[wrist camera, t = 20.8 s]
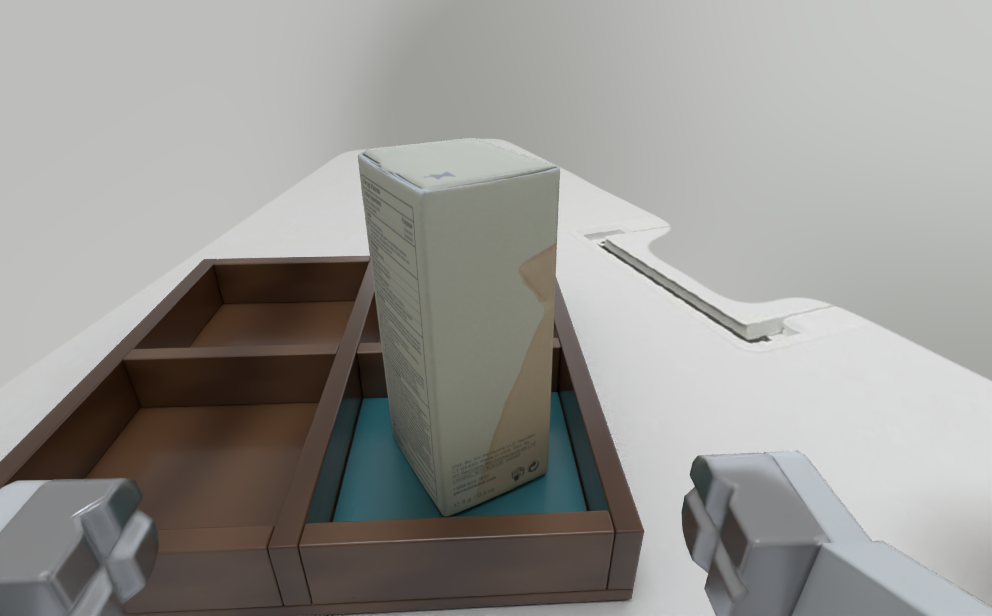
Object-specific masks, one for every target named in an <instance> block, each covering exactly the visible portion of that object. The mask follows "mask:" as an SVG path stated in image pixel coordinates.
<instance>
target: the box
mask: <svg viewBox="0 0 992 616" xmlns="http://www.w3.org/2000/svg"><path fill="white" fill-rule="evenodd" d="M358 162H359V171H360V179H361V188H362V196H363V203H364V211H365V220H366V227H367V235H368V243H369V251H370V258H371V266H372V274H373V282H374V290H375V298H376V306H377V314H378V322H379V330H380V338H381V346H382V354H383V362H384V369H385V377H386V384H387V392H388V400H389V408H390V416H391V424H392V432H393V436H394V438H395V440H396V442H397V443H398V445H399V447H400V449H401V451H402V453H403V454H404V456H405V458H406V459H407V461H408V463H409V464H410V466H411V468H412V469H413V471H414V472H415V474H416V475H417V477H418V479H419V480H420V482H421V483H422V485H423V487H424V488H425V490H426V491H427V493H428V494H429V496H430V497H431V499H432V500H433V502H434V503H435V505H436V506H437V508H438V509H439V511H440V512H441V514H442V515H443V516H445V517H447V516H451V515H453V514H455V513H458V512H461V511H463V510H465V509H468V508H470V507H473V506H475V505H477V504H480V503H482V502H485V501H487V500H489V499H491V498H493V497H496V496H498V495H500V494H503V493H505V492H507V491H509V490H512V489H513V488H515V487H517V486H520V485H522V484H524V483H526V482H528V481H530V480H533V479H535V478H537V477H539V476H541V475H543V474H545V473H546V472H547V471H548V453H549V430H550V404H551V377H552V354H553V330H554V303H555V276H556V249H557V226H558V202H559V180H560V168H559V167H558V166H556V165H554V164H551V163H548V162H545V161H542V160H539V159H536V158H532V157H529V156H526V155H523V154H521V153H518V152H515V151H512V150H509V149H506V148H503V147H500V146H497V145H494V144H492V143H489V142H486V141H484V140H481V139H477V138H475V139H474V138H471V139H470V138H468V139H456V140H446V141H437V142H429V143H420V144H411V145H401V146H391V147H383V148H374V149H368V150H366V151H365V152H362V153H360V154H358Z"/></svg>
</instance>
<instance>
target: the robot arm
mask: <svg viewBox="0 0 992 616" xmlns="http://www.w3.org/2000/svg"><path fill="white" fill-rule="evenodd" d="M690 477H691V479H692V481H693V483H694V485H695V487H694V488H693V489H692V490H691V491H690V492H689V493H688V494H687V495H685V497H684V502H683V508H682V526H683V533H684V537H685V541H686V545H687V548H688V550H689V553H690V555H691V558H692V560H693V561H694V562H695V563H696V564H697V565H699V566H700V567H701V568H702V569H704V570H705V571H706V572H707V573H708V577H707V581H706V584H705V588H704V589H705V591H706V594H707V596H708V598H709V601H710V603H711V605H712V608H713V610H714V612H715V615H716V616H992V607H991V606H989V605H988V604H986V603H984V602H983V601H981V600H979V599H978V598H976V597H974V596H973V595H971V594H970V593H968V592H966V591H965V590H963V589H961V588H960V587H958V586H956V585H955V584H953V583H951V582H950V581H948V580H947V579H945V578H943V577H942V576H940V575H938V574H937V573H935V572H933V571H932V570H930V569H928V568H927V567H925V566H924V565H922V564H920V563H919V562H917V561H915V560H914V559H912V558H910V557H909V556H907V555H905V554H904V553H902V552H901V551H899V550H897V549H896V548H894V547H892V546H891V545H889V544H887V543H886V542H884V541H872V540H871V539H870V538H869V536H868V535H867V534H866V532H865V531H864V530H863V528H862V527H861V526H860V525H859V523H858V522H857V521H856V519H855V518H854V517H853V516H852V514H851V513H850V512H849V510H848V509H847V508H846V507H845V505H844V504H843V503H842V501H841V500H840V499H839V498H838V496H837V495H836V494H835V492H834V491H833V490H832V488H831V487H830V486H829V485H828V483H827V482H826V481H825V479H824V478H823V477H822V476H821V474H820V473H819V472H818V470H817V469H816V468H815V467H814V465H813V464H812V463H811V461H810V460H809V459H808V458H807V456H806V455H804V454H802V453H801V452H799V451H780V452H764V453H741V454H721V455H700V456H697V457H696V459H695V460H694V461H693V463H692V467H691V471H690ZM142 499H143V495H142V493H141V491H140V489H139V487H138V485H137V483H136V481H135V480H131V479H125V478H115V479H54V480H27V481H15V482H13V483H11V484H9V485H6V486H4V487H2V488H1V489H0V616H127V613H126V608H125V604H124V603H125V602H126V601H128V600H129V599H130V598H131V597H133V596H134V595H135V594H136V593H138V592H139V591H140V590H141V589H143V588H144V587H145V585H146V583H147V581H148V579H149V577H150V575H151V573H152V571H153V569H154V566H155V562H156V557H157V553H158V549H159V541H158V531H157V528H156V526H155V523H154V521H153V519H152V518H151V517H149V516H148V515H146V514H145V513H143V512H142V511H140V510H139V509H137V508H138V506H139V504H140V502H141V501H142Z"/></svg>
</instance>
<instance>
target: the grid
mask: <svg viewBox="0 0 992 616" xmlns="http://www.w3.org/2000/svg"><path fill="white" fill-rule="evenodd" d="M115 478H125V479H131V480H135V481H136V483H137V485H138V487H139V489H140V491H141V493H142V495H143V499H142V501H141V502H140V504H139V506H138V508H137V509H139V510H140V511H142V512H143V513H145V514H146V515H148V516H149V517H151V518H152V519H153V521H154V523H155V526H156V528H157V531H158V541H159V549H158V553H157V557H156V562H155V566H154V569H153V571H152V573H151V575H150V577H149V579H148V581H147V583H146V585H145V587H144V588H143V589H141V590H140V591H139V592H138V593H136V594H135V595H134V596H133V597H131V598H130V599H129V600H128V601H126V602H125V603H124V604H125V608H126V613H127V616H313V615H333V614H352V613H372V612H391V611H411V610H430V609H450V608H469V607H488V606H508V605H527V604H547V603H566V602H586V601H605V600H625V599H631V598H632V592H633V587H634V582H635V576H636V571H637V566H638V561H639V555H640V550H641V545H642V540H643V534H644V529H643V526H642V523H641V520H640V518H639V515H638V512H637V509H636V506H635V503H634V500H633V497H632V494H631V492H630V489H629V486H628V483H627V480H626V477H625V474H624V471H623V469H622V466H621V463H620V460H619V457H618V454H617V451H616V448H615V446H614V443H613V440H612V437H611V434H610V431H609V428H608V425H607V422H606V420H605V417H604V414H603V411H602V408H601V405H600V402H599V399H598V397H597V394H596V391H595V388H594V385H593V382H592V379H591V376H590V374H589V371H588V368H587V365H586V362H585V359H584V356H583V353H582V350H581V348H580V345H579V342H578V339H577V336H576V333H575V330H574V327H573V325H572V322H571V319H570V316H569V313H568V310H567V307H566V304H565V302H564V299H563V296H562V293H561V290H560V287H559V284H558V281H557V278H556V276H555V303H554V330H553V354H552V377H551V404H550V430H549V453H548V471H547V472H546V473H545V474H543V475H541V476H539V477H537V478H535V479H533V480H530V481H528V482H526V483H524V484H522V485H520V486H517V487H515V488H513V489H512V490H509V491H507V492H505V493H503V494H500V495H498V496H496V497H493V498H491V499H489V500H487V501H485V502H482V503H480V504H477V505H475V506H473V507H470V508H468V509H465V510H463V511H461V512H458V513H455V514H453V515H451V516H447V517H445V516H443V515H442V514H441V512H440V511H439V509H438V508H437V506H436V505H435V503H434V502H433V500H432V499H431V497H430V496H429V494H428V493H427V491H426V490H425V488H424V487H423V485H422V483H421V482H420V480H419V479H418V477H417V475H416V474H415V472H414V471H413V469H412V468H411V466H410V464H409V463H408V461H407V459H406V458H405V456H404V454H403V453H402V451H401V449H400V447H399V445H398V443H397V442H396V440H395V438H394V436H393V432H392V424H391V416H390V408H389V400H388V392H387V384H386V377H385V369H384V362H383V354H382V346H381V338H380V330H379V322H378V314H377V306H376V298H375V290H374V282H373V274H372V266H371V258H370V256H338V257H288V258H238V259H218V260H217V259H204V260H203V261H202V262H201V263H200V264H199V265H198V266H197V267H196V268H195V269H194V270H193V271H192V272H190V273H189V274H188V275H187V276H186V277H185V278H184V279H183V280H182V281H181V282H180V283H179V284H178V285H177V286H176V287H175V288H174V289H173V290H172V291H171V292H170V293H169V294H168V295H167V296H166V297H165V298H164V299H163V300H162V301H161V302H160V303H159V304H158V305H157V306H156V307H155V308H154V309H153V310H152V311H151V312H150V313H149V314H148V315H147V316H146V317H145V318H144V319H143V320H142V321H141V322H140V323H139V324H138V325H137V326H136V327H135V328H134V329H133V330H132V331H131V332H130V333H129V334H128V335H127V336H126V337H125V338H124V339H123V340H122V341H121V342H120V343H119V344H118V345H117V346H116V347H115V348H114V349H113V350H112V351H111V352H110V353H109V354H108V355H107V356H106V357H105V358H104V359H103V360H102V361H101V362H100V363H99V364H98V365H97V366H96V367H95V368H94V369H93V370H92V371H91V372H90V373H89V374H88V375H87V376H86V377H85V378H84V379H83V380H82V381H81V382H80V383H79V384H78V385H77V386H76V387H75V388H74V389H73V390H72V391H71V392H70V393H69V394H68V395H67V396H66V397H65V398H64V399H63V400H62V401H61V402H60V403H59V404H58V405H57V406H56V407H55V408H54V409H53V410H52V411H51V412H50V413H49V414H48V415H47V416H46V417H45V418H44V419H43V420H42V421H41V422H40V423H39V424H38V425H37V426H36V427H35V428H34V429H33V430H32V431H31V432H30V433H29V434H28V435H27V436H26V437H25V438H24V439H23V440H22V441H21V442H20V443H19V444H18V445H17V446H16V447H15V448H14V449H13V450H12V451H11V452H10V453H9V454H8V455H7V456H6V457H5V458H4V459H3V460H2V461H1V462H0V489H1V488H2V487H4V486H6V485H9V484H11V483H13V482H15V481H27V480H54V479H115Z"/></svg>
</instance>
